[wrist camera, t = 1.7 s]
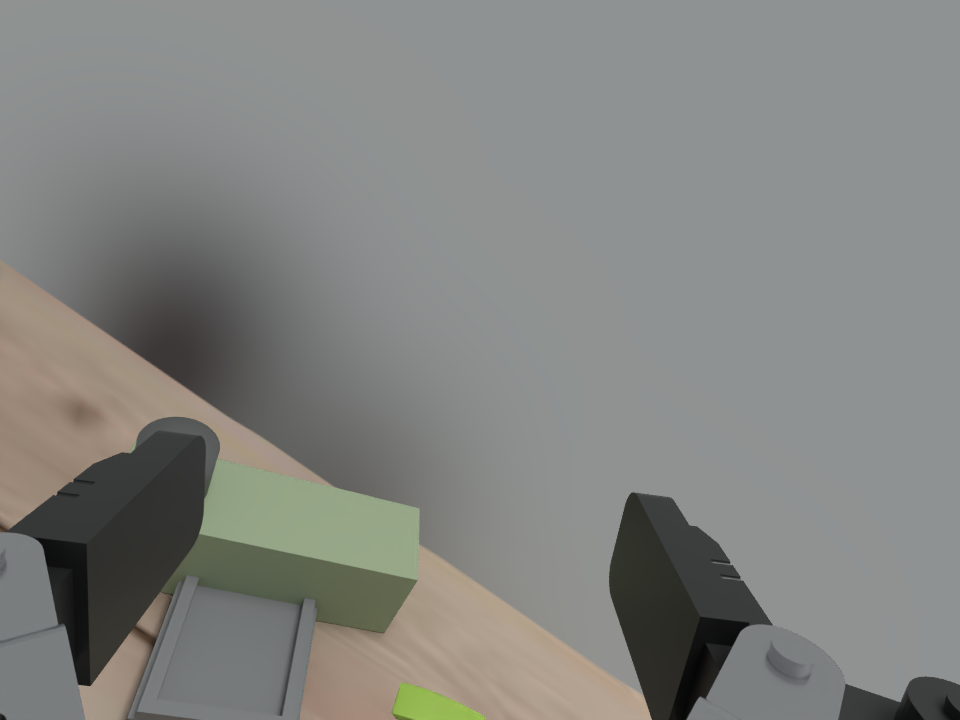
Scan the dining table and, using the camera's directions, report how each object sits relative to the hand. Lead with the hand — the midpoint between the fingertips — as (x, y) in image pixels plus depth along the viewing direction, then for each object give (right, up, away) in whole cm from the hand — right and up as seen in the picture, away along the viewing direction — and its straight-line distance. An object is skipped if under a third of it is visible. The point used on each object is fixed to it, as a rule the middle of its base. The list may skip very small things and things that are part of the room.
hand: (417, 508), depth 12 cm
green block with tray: (-20, -20, +43) cm, 51 cm away
